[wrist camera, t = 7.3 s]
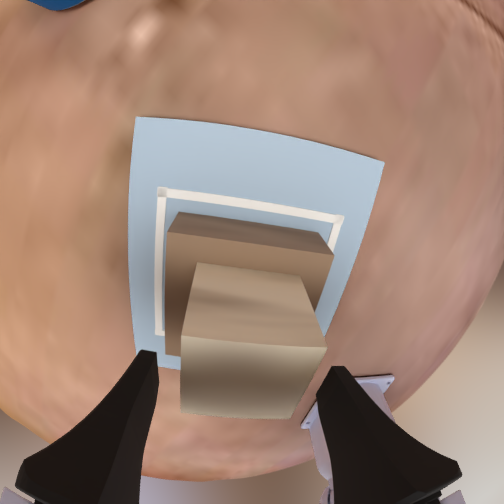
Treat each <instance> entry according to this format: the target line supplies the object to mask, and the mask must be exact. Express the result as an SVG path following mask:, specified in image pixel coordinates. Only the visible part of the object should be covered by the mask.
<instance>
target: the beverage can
mask: <svg viewBox="0 0 504 504" xmlns="http://www.w3.org/2000/svg"><path fill="white" fill-rule="evenodd" d="M28 1H30V2H33V3H35V4H38V5H40V6H42V7H45V8H47V9H49V10H56V11H58V10H64V9H68V8H70V7H73V6H75V5H77V4H79V3H81V2H83V1H85V0H28Z"/></svg>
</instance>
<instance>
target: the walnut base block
mask: <svg viewBox="0 0 504 504" xmlns="http://www.w3.org/2000/svg"><path fill="white" fill-rule="evenodd" d="M334 256H335V255H334V254H333V252H332V251H331V249H330V248H329V247H328V245H327V244H326V242H325V241H324V240H323V238H322V237H321V235H320V234H319V233H318V232H313V231H307V230H301V229H295V228H289V227H282V226H276V225H270V224H263V223H257V222H250V221H243V220H237V219H230V218H223V217H216V216H208V215H201V214H194V213H186V212H178V214H177V215H176V217H175V219H174V221H173V222H172V224H171V226H170V227H169V229H168V231H167V239H166V260H165V304H164V316H165V354H166V355H172V356H178V357H181V334H182V329H183V324H184V319H185V314H186V310H187V305H188V300H189V296H190V291H191V287H192V283H193V278H194V274H195V270H196V265H197V262H199V263H206V264H213V265H221V266H228V267H236V268H243V269H251V270H259V271H266V272H274V273H282V274H290V275H299V276H300V277H301V280H302V282H303V285H304V287H305V290H306V292H307V295H308V297H309V300H310V302H311V305H312V308H313V310H314V313H315V310H316V308H317V305H318V302H319V299H320V297H321V294H322V291H323V288H324V286H325V283H326V280H327V277H328V274H329V271H330V268H331V265H332V262H333V259H334Z"/></svg>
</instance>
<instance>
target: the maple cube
mask: <svg viewBox="0 0 504 504" xmlns="http://www.w3.org/2000/svg"><path fill="white" fill-rule="evenodd" d="M327 348H328V347H327V344H326V341H325V339H324V336H323V333H322V331H321V328H320V326H319V323H318V320H317V318H316V315H315V313H314V310H313V308H312V305H311V302H310V300H309V297H308V295H307V292H306V290H305V287H304V285H303V282H302V280H301V277H300V276H299V275H290V274H282V273H274V272H266V271H259V270H251V269H243V268H236V267H228V266H221V265H213V264H206V263H199V262H197V265H196V270H195V274H194V278H193V283H192V287H191V291H190V296H189V300H188V305H187V310H186V314H185V319H184V324H183V329H182V334H181V369H180V397H181V412H182V413H189V414H197V415H206V416H216V417H229V418H247V419H290V417H291V416H292V414H293V412H294V410H295V409H296V407H297V405H298V403H299V402H300V400H301V398H302V396H303V395H304V393H305V391H306V389H307V387H308V385H309V383H310V382H311V380H312V378H313V376H314V374H315V372H316V370H317V368H318V366H319V364H320V362H321V360H322V358H323V356H324V354H325V352H326V350H327Z"/></svg>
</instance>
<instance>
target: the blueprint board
mask: <svg viewBox="0 0 504 504" xmlns="http://www.w3.org/2000/svg"><path fill="white" fill-rule="evenodd" d="M384 163H385V162H382V161H379V160H376V159H373V158H369V157H366V156H363V155H360V154H356V153H353V152H350V151H346V150H343V149H339V148H335V147H332V146H328V145H324V144H320V143H316V142H312V141H308V140H304V139H300V138H295V137H291V136H286V135H281V134H276V133H271V132H266V131H261V130H255V129H249V128H243V127H237V126H230V125H223V124H216V123H208V122H199V121H190V120H179V119H167V118H150V117H136V121H135V129H134V137H133V146H132V157H131V169H130V183H129V205H128V263H129V285H130V300H131V312H132V322H133V332H134V340H135V348H136V355H137V354H138V352H139V351H140V350H142V349H143V350H148V351H154V352H157V363H158V366H159V367H165V368H171V369H178V370H180V369H181V357H178V356H172V355H166V354H165V316H164V304H165V260H166V239H167V231H168V229H169V227H170V226H171V224H172V222H173V221H174V219H175V217H176V215H177V214H178V212H186V213H194V214H201V215H208V216H216V217H223V218H230V219H237V220H243V221H250V222H257V223H263V224H270V225H276V226H282V227H289V228H295V229H301V230H307V231H313V232H318V233H319V234H320V235H321V237H322V238H323V240H324V241H325V242H326V244H327V245H328V247H329V248H330V249H331V251H332V252H333V254H334V255H335V256H334V259H333V262H332V265H331V268H330V271H329V274H328V277H327V280H326V283H325V286H324V288H323V291H322V294H321V297H320V299H319V302H318V305H317V308H316V310H315V315H316V318H317V320H318V323H319V326H320V328H321V331H322V333H323V336H324V337H325V334H326V332H327V330H328V328H329V325H330V323H331V321H332V318H333V316H334V313H335V311H336V309H337V306H338V304H339V301H340V299H341V296H342V294H343V291H344V289H345V286H346V283H347V281H348V278H349V276H350V273H351V270H352V267H353V265H354V262H355V259H356V256H357V253H358V251H359V248H360V245H361V242H362V239H363V236H364V233H365V230H366V226H367V223H368V220H369V217H370V214H371V210H372V207H373V204H374V200H375V197H376V193H377V190H378V186H379V182H380V179H381V175H382V171H383V167H384Z"/></svg>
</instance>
